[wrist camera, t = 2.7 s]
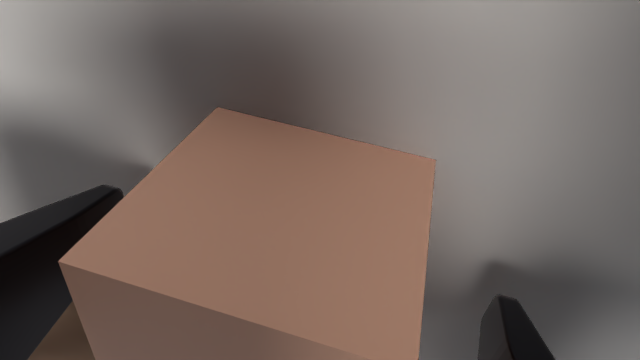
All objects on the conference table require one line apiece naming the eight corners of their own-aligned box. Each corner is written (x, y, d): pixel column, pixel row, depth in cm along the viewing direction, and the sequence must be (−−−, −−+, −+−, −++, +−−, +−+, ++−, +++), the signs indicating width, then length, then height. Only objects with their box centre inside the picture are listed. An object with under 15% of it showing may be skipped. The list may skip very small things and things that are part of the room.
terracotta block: (435, 157, 9) (416, 373, 5) (386, 301, 12) (351, 506, 8) (218, 105, 10) (58, 261, 6) (223, 254, 13) (119, 421, 9)
